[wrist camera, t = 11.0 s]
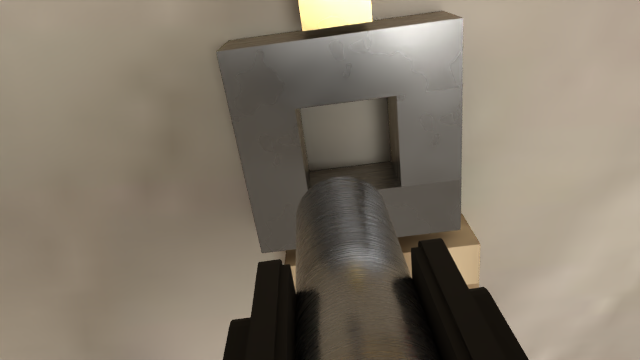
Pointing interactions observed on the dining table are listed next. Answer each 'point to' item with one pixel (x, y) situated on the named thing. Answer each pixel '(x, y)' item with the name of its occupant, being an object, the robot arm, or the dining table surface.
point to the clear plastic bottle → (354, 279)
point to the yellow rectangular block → (333, 13)
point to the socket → (347, 86)
